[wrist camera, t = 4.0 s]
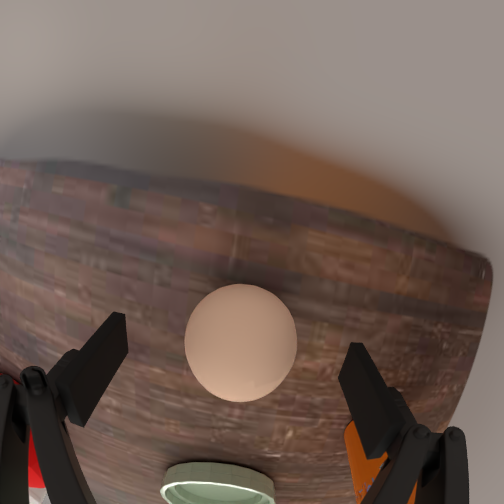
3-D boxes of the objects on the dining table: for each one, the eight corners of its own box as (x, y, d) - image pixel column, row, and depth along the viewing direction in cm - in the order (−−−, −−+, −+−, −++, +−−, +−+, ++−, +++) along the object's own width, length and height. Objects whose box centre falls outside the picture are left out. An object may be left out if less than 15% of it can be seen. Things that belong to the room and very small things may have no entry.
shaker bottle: (407, 382, 22) (492, 548, 3) (415, 425, 24) (472, 554, 5) (324, 421, 23) (359, 605, 4) (346, 457, 25) (376, 595, 6)
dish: (285, 463, 26) (286, 487, 22) (264, 504, 29) (264, 522, 26) (161, 448, 25) (154, 471, 22) (169, 492, 29) (165, 510, 26)
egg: (219, 251, 19) (195, 304, 11) (307, 291, 20) (334, 360, 12) (184, 328, 20) (154, 401, 13) (264, 361, 21) (266, 440, 14)
